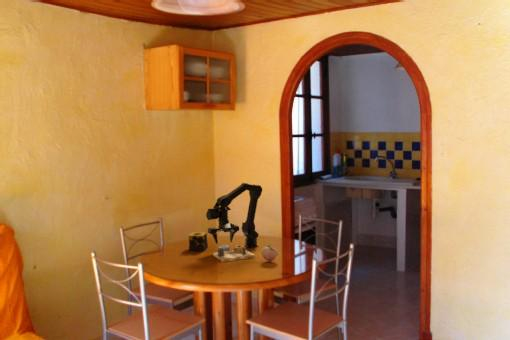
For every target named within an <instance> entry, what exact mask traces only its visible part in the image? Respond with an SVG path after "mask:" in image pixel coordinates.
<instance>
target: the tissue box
mask: <svg viewBox="0 0 510 340" xmlns="http://www.w3.org/2000/svg"><path fill="white" fill-rule="evenodd" d="M207 238H208V231H200V232H199V231H196V232H195V231H193V232H190V233H189V235H188V250H189V252H205V251H206V250H207V249H208V247H209V242H208V239H207Z"/></svg>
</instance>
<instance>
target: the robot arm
mask: <svg viewBox="0 0 510 340" xmlns="http://www.w3.org/2000/svg"><path fill="white" fill-rule="evenodd" d="M246 191H248V195H249V203H248V209H247V215H246V220H245V222H242V225H241V228H240V227H239V226H238V225H237V224H235V223H234V222H232V223H230V221H229V214H228V213H229V211H232V209H231V208H230V207H229V206H230V204H232V202H233V201H234V200H235V199H236V198H237V197H239V196H240V195H242V194H243V193H244V192H246ZM262 193H263V187H262V186H261V185H259V184H250V183H247V182H243V183H242V182H241V184H240V185H238V186H237V187H236V188H234V189H233V190H232V191H230V192H229V193H227V194H224V195H222V196H219V197H218V198H217V199H216V201H215V204H214V206H213V208H207V210H206V214H205V216H206V219H207V221H213V220H214V221H215V220H217V221H218V226H217V227H218V228H216V227H208V229H207V234H210V235H211V236H212V237H213V239H214V241H215V244H216V245H218V244H219V243H218V233H219V232H224V233H229V242H230V243H232V242H233V238H234V236H235V234H236V233H238V231H240V229H241V232H242V234H243V235H244V237H245V242H244V246H245V247H247V248H249V249H250V248H257V247H259V246H258V242H257V240H258V238H259V233H258V232H257V231H256V225H255V224H256V223H255V218H256V213H257V207H258V200H259V199H260V197H261V195H262Z"/></svg>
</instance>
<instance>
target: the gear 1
mask: <svg viewBox="0 0 510 340" xmlns="http://www.w3.org/2000/svg"><path fill="white" fill-rule="evenodd" d="M218 249H224V251H231V247H230V246H229V245H227V244H226V245H224V244H223V245H219V246H218V247H217V250H218Z"/></svg>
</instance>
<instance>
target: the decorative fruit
mask: <svg viewBox="0 0 510 340" xmlns="http://www.w3.org/2000/svg"><path fill="white" fill-rule="evenodd" d="M278 255H279V253H278V249H277V248H275V246H271V245H270V244H266V245H265V247H263V248H262V249H261V257H262V258H263V259H264V260H266V261H268V262H270V263H271V262H272V261H275V259H277V256H278Z"/></svg>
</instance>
